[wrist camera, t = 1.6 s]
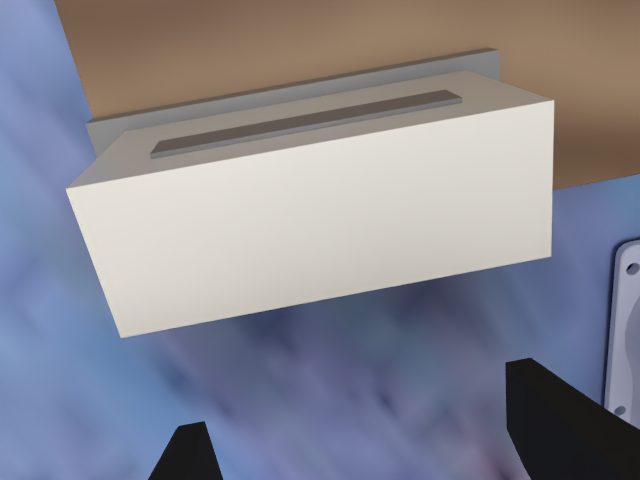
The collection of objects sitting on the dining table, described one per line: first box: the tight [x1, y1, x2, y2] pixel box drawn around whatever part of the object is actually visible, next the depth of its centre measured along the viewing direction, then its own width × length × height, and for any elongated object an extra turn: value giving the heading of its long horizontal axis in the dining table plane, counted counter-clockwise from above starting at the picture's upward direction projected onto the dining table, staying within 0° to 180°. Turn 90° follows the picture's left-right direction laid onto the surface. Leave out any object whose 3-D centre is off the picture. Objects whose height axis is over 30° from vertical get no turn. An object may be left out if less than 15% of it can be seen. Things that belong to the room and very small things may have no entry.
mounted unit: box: [66, 48, 554, 338], centre depth 15 cm, size 5×12×6 cm, turn 99°
